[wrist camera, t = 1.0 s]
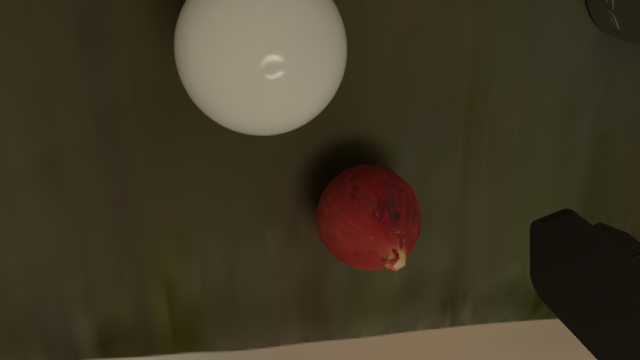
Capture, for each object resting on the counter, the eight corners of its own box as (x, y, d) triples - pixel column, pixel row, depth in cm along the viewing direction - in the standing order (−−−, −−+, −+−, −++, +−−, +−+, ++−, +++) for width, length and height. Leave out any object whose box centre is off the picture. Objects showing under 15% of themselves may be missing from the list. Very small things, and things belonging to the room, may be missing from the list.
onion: (315, 136, 33) (370, 208, 27) (399, 148, 35) (469, 217, 29) (289, 221, 35) (333, 307, 29) (370, 227, 38) (428, 307, 31)
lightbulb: (144, -67, 25) (174, -15, 16) (283, -73, 27) (379, -29, 18) (164, 72, 28) (197, 178, 19) (287, 58, 30) (370, 150, 21)
